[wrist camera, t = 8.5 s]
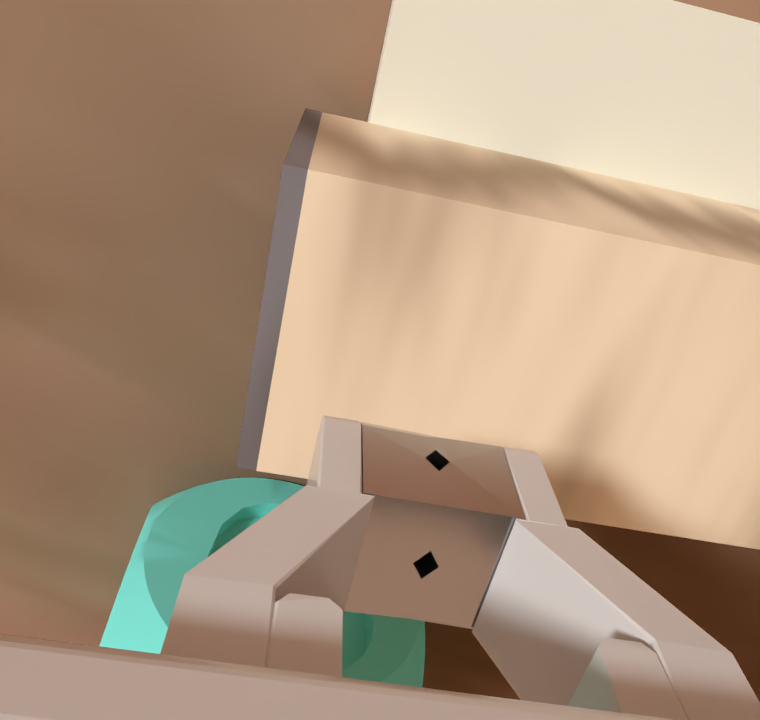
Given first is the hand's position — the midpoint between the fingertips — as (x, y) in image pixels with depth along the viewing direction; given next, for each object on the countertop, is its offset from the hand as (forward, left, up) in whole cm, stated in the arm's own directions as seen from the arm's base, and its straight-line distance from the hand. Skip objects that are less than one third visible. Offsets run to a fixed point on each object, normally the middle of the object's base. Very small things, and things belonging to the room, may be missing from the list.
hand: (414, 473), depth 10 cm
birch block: (+3, 0, -7) cm, 7 cm away
